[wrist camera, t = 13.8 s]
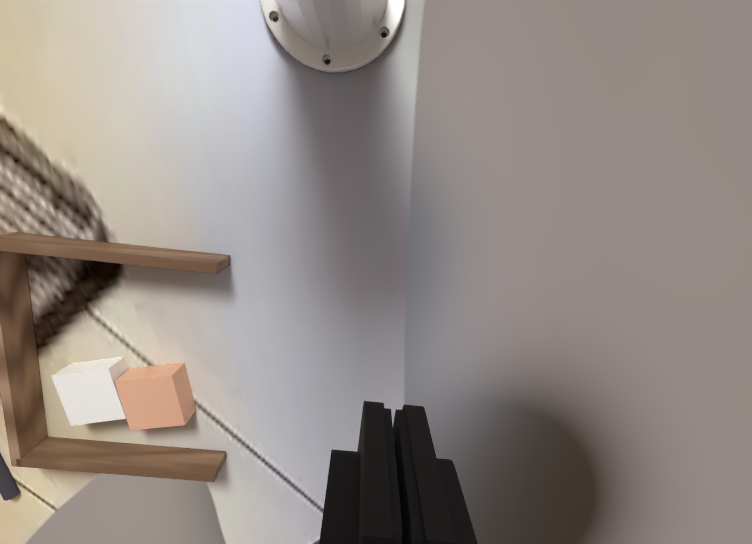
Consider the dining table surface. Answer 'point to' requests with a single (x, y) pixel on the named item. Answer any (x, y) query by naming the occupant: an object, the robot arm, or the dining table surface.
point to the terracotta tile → (156, 396)
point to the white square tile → (91, 390)
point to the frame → (22, 377)
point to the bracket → (7, 482)
